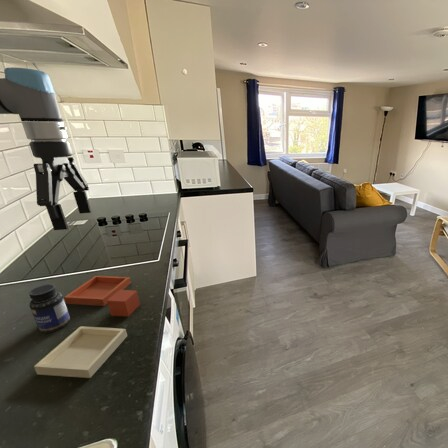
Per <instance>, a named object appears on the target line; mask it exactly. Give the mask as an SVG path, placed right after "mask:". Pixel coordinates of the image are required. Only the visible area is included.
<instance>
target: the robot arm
mask: <svg viewBox="0 0 448 448" xmlns="http://www.w3.org/2000/svg"><path fill="white" fill-rule="evenodd" d="M3 72H4V77H2V78H1V77H0V115H18V116H19V118H20V121H21V124H22V128H23V130H24V134H25V137H26V139H27V140H30V142H29V143H28V145H29V148H30V151H31V153H32V156H33V157H34V158H36V159H41V163H33V169H34V172H35V190H36V205H37V206H39V207H45V209H46V211H47V214H48V216H49V218H50V222H51V225H52V228H53V231H62V230H63V231H65V230H68V229H69V225H68V222H67V219H66V217H65V213H64V211H63V207H62V203H59V195H60V188H61V182H63V180H64V181H66V183H67V184H68V185H69V186H70V187H71V188H72V189H73V190H74V191H73V196H74V200H75V203H76V207H77V210H78V212H79V214H91V213H92V210H91V206H90V202H89V199H88V196H87V191H90V187H89V184H88V182H87V180H86V179H85V177H84V175H83V173H82V172H81V169H80V168H79V166H78V165H77V162H76V159H75V157H73V151H72V147H71V144H70V141H68V140H67V139H68V134H67V130H68V128H67V126H65V124H64V120H63V117H62V114H61V110H60V107H59V103H58V98H57V96H56V94H57V92H56V91H55V88H54V87H53V84H52V80H51V78H50V76H49V75H48V74H47V73H46V72H44V71H42V70H40V69H39V70H38V69H32V68H26V67H6V68H4V70H3Z"/></svg>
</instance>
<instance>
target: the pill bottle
mask: <svg viewBox="0 0 448 448" xmlns="http://www.w3.org/2000/svg"><path fill="white" fill-rule="evenodd" d="M28 295H29V298H30V299H31V300H30V302H29V304H28V306H29V308H30V311H31V314H32V316H33V319H34V321H35V323H36V326H37V328H38V331H39V332H40V333H43V334H49V333H53V332H56V331H60V330H61V329H63V328H65V327H66V326H67V325H68V324H69V323H70V321H71V317H70V313H69V310H68V307H67V304H66V302H65V299H64V296H63V294H62V293H61V292H59V291H57V288H56V285H54V284H53V283H48V284H42V285H39V286H36V287H35V288H32V289H31V290H30V291H29V293H28Z"/></svg>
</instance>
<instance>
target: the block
mask: <svg viewBox="0 0 448 448" xmlns="http://www.w3.org/2000/svg"><path fill="white" fill-rule="evenodd" d="M140 305H141V303H140V299H139V296H138V291H137V290H133V289H124V290H119V291H118V292H116V293H115V294H114V295H113V296H112V297H110V298H109V299H108V300H107V306H108V310H109V314H110V315H111V317H127V318H128V317H130V316H131V315H132V314H133V313H134V312H135V311H136V310H137V309H138V307H140Z"/></svg>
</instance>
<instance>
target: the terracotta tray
mask: <svg viewBox="0 0 448 448" xmlns="http://www.w3.org/2000/svg"><path fill="white" fill-rule="evenodd" d="M130 284H132V282H131V278H130V277H129V276H111V275H110V276H109V275H93V277H91V278H90V279H88V280H87V281H86V282H84V283H83V284H81V285H79V286H78V287H77V288H75V289H74V290H72V291H71V292H70V293H68V294H67V295H65V296H63V299H64V302H65V305H80V306H99V307H105V306H106V305H108V303H107V300H108V299H109V298H110V297H112V296H113V295H114V294H115V293H116V292H118V291H119V290H126V288H127V287H128V286H129V285H130Z"/></svg>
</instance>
